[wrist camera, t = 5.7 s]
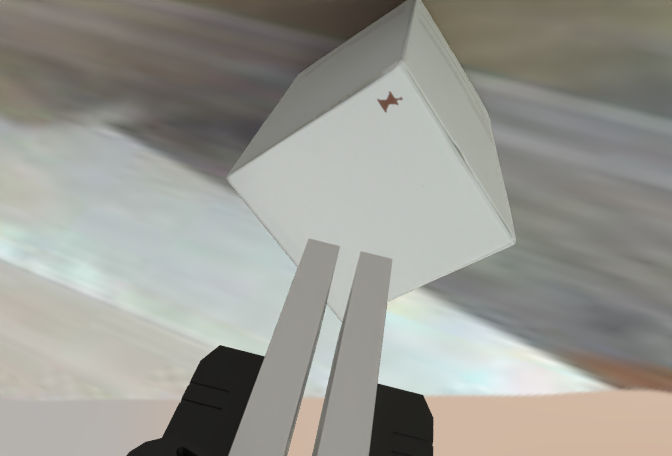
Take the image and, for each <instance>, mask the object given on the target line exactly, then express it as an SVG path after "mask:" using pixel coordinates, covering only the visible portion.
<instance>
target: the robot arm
mask: <svg viewBox="0 0 672 456" xmlns="http://www.w3.org/2000/svg"><path fill="white" fill-rule="evenodd" d="M339 249H340V246H338V245H334V244H330V243H326V242H322V241H318V240H313V239H308V241H307V244H306V247H305V249H304V252H303V255H302V257H301V260H300V263H299V266H298V268H297V271H296V274H295V276H294V279H293V282H292V285H291V287H290V290H289V293H288V295H287V298H286V301H285V304H284V306H283V309H282V312H281V314H280V317H279V320H278V323H277V325H276V328H275V331H274V333H273V336H272V339H271V341H270V344H269V347H268V350H267V352H266V355H265V357H264V356H260V355H257V354H253V353H249V352H245V351H241V350H237V349H233V348H229V347H225V346H221V345H220V346H218V347H217V348H216V349H215V350H213V351H212V352H211V353H210V354H208V355H207V356H206V357H205V358H203V359H202V360H201V361H200V363H199V365H198V367H197V369H196V371H195V373H194V375H193V377H192V379H191V381H190V384H189V385H188V387H187V389H186V391H185V393H184V395H183V397H182V400H181V403H179V405H178V407H177V409H176V411H175V413H174V415H173V417H172V419H171V421H170V423H169V425H168V427H167V429H166V431H165V433H164V435H163V437H162V438H160V439H156V440H152V441H148V442H145V443H143V444H142V445H140V446H138V447H137V448H135V449H133V450H132V451H131V452H129V453H128V455H127V456H287V454H288V451H289V447H290V443H291V439H292V435H293V432H294V428H295V424H296V420H297V417H298V413H299V409H300V405H301V402H302V398H303V394H304V390H305V387H306V383H307V379H308V375H309V371H310V368H311V364H312V360H313V356H314V353H315V349H316V345H317V341H318V337H319V334H320V329H321V325H322V321H323V317H324V313H325V308H326V304H327V300H328V296H329V292H330V287H331V283H332V279H333V275H334V271H335V266H336V262H337V258H338V254H339ZM391 267H392V259H390V258H386V257H382V256H378V255H374V254H370V253H366V252H362V251H361V252H360V256H359V259H358V263H357V267H356V271H355V275H354V279H353V283H352V286H351V290H350V294H349V298H348V302H347V306H346V310H345V313H344V317H343V321H342V325H341V329H340V333H339V337H338V340H337V345H336V350H335V354H334V359H333V363H332V368H331V372H330V377H329V381H328V386H327V390H326V395H325V399H324V404H323V409H322V413H321V417H320V422H319V426H318V431H317V436H316V440H315V444H314V449H313V453H312V456H433V446H432V444H433V416H432V414H431V412H430V410H429V408H428V405H427V403H426V401H425V398H424V396H423V395H421V394H417V393H413V392H409V391H405V390H401V389H397V388H393V387H389V386H385V385H381V384H377V383H378V375H379V366H380V358H381V350H382V342H383V333H384V325H385V317H386V309H387V300H388V292H389V284H390V276H391Z"/></svg>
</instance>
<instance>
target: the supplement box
mask: <svg viewBox="0 0 672 456" xmlns="http://www.w3.org/2000/svg"><path fill="white" fill-rule="evenodd" d="M226 178H227V181H228V182H229V183H230V185H231V186H232V187H233V188H234V190H235V191H236V192H237V193H238V194H239V195H240V197H241V198H242V199H243V200H244V202H245V203H246V204H247V205H248V207H249V208H250V209H251V210H252V211H253V213H254V214H255V215H256V216H257V218H258V219H259V220H260V221H261V223H262V224H263V225H264V227H265V228H266V229H267V230H268V232H269V233H270V234H271V235H272V236H273V238H274V239H275V240H276V241H277V243H278V244H279V245H280V246H281V248H282V249H283V250H284V251H285V253H286V254H287V255H288V256H289V257H290V259H291V260H292V261H293V262H294V264H295V265H296V266H297V267H298V266H299V263H300V260H301V257H302V255H303V252H304V249H305V247H306V244H307V241H308V239H313V240H318V241H322V242H326V243H330V244H334V245H338V246H340V249H339V254H338V258H337V262H336V266H335V271H334V275H333V279H332V283H331V287H330V292H329V296H328V300H327V305H328V306H329V307H330V308H331V310H332V311H333V312H334V313H335V315H336V316H337V317H338V319H339V320H340V321H341V322H342V321H343V317H344V313H345V310H346V306H347V302H348V298H349V294H350V290H351V286H352V283H353V279H354V275H355V271H356V267H357V263H358V259H359V256H360V252H361V251H362V252H366V253H370V254H374V255H378V256H382V257H386V258H390V259H392V267H391V276H390V284H389V292H388V300H387V302H388V301H391V300H393V299H395V298H397V297H399V296H401V295H404V294H406V293H408V292H410V291H412V290H414V289H416V288H418V287H420V286H423V285H425V284H427V283H429V282H431V281H434V280H436V279H438V278H440V277H443V276H445V275H447V274H450V273H452V272H454V271H456V270H459V269H461V268H463V267H466V266H468V265H470V264H473V263H475V262H477V261H479V260H481V259H484V258H486V257H488V256H490V255H493V254H495V253H497V252H499V251H502V250H504V249H507V248H509V247H511V246H513V245H514V244H515V242H516V238H515V232H514V227H513V221H512V216H511V211H510V206H509V202H508V198H507V193H506V189H505V185H504V181H503V177H502V172H501V168H500V164H499V159H498V155H497V150H496V146H495V142H494V138H493V133H492V128H491V122H490V118H489V114H488V112H487V110H486V108H485V107H484V105H483V103H482V101H481V99H480V98H479V96H478V94H477V92H476V91H475V89H474V87H473V86H472V84H471V82H470V80H469V79H468V77H467V75H466V74H465V72H464V70H463V68H462V67H461V65H460V63H459V62H458V60H457V58H456V57H455V55H454V53H453V52H452V50H451V48H450V47H449V45H448V44H447V42H446V40H445V39H444V37H443V35H442V34H441V32H440V30H439V29H438V27H437V25H436V24H435V22H434V20H433V19H432V17H431V15H430V14H429V12H428V10H427V9H426V7H425V6H424V4H423V2H422V1H421V0H407V1H405V2H404V3H402V4H401V5H399V6H398V7H396V8H395V9H393V10H392V11H390V12H389V13H387V14H386V15H384V16H383V17H381V18H380V19H378V20H377V21H375V22H374V23H372V24H371V25H369V26H368V27H366V28H365V29H363V30H362V31H360V32H359V33H357V34H356V35H354V36H353V37H351V38H350V39H348V40H347V41H346V42H344V43H343V44H341V45H340V46H338V47H337V48H335V49H334V50H332V51H331V52H330V53H328V54H327V55H325V56H324V57H322V58H321V59H319V60H318V61H316V62H315V63H313V64H312V65H310V66H309V67H308V68H306V69H305V70H303V71H302V72H301V73H299V74H298V75H297V77H296V78H295V80H294V81H293V83H292V84H291V86H290V87H289V88H288V90H287V91H286V92H285V94H284V95H283V97H282V98H281V100H280V101H279V103H278V104H277V105H276V107H275V108H274V110H273V111H272V112H271V114H270V115H269V117H268V118H267V119H266V121H265V122H264V123H263V125H262V126H261V128H260V129H259V130H258V132H257V133H256V135H255V136H254V138H253V139H252V140H251V142H250V143H249V145H248V146H247V148H246V149H245V150H244V152H243V153H242V155H241V156H240V158H239V159H238V160H237V162H236V163H235V165H234V166H233V167H232V169H231V170H230V172H229V173H228V175H227V177H226Z"/></svg>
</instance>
